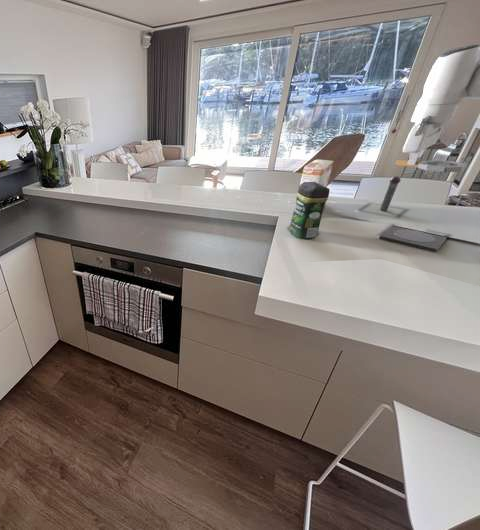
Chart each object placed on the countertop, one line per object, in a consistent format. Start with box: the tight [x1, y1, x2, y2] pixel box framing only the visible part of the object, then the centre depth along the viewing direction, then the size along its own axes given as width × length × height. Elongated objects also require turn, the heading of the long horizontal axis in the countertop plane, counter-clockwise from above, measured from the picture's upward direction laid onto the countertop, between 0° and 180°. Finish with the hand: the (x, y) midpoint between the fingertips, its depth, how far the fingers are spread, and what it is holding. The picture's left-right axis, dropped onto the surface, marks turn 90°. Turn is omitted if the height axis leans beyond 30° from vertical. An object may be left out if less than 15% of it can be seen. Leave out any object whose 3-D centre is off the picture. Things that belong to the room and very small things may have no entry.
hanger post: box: [378, 176, 401, 212], centre depth 112 cm, size 12×12×14 cm
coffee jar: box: [288, 182, 330, 240], centre depth 100 cm, size 10×8×19 cm
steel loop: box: [394, 159, 467, 173], centre depth 89 cm, size 15×9×1 cm, turn 36°
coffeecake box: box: [299, 159, 334, 188], centre depth 120 cm, size 15×7×20 cm, turn 134°
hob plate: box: [379, 225, 449, 253], centre depth 96 cm, size 14×14×1 cm
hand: (412, 163), depth 91 cm, fingers closed on steel loop, 1 cm apart
